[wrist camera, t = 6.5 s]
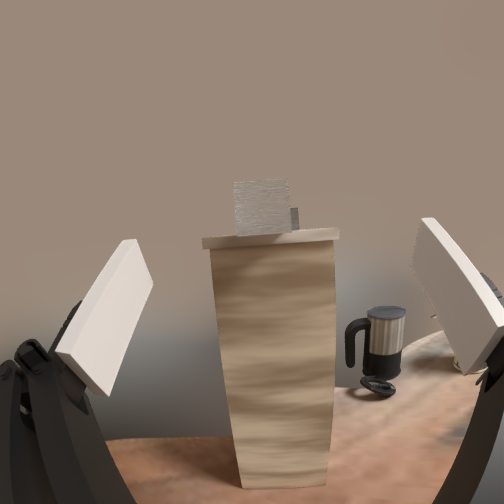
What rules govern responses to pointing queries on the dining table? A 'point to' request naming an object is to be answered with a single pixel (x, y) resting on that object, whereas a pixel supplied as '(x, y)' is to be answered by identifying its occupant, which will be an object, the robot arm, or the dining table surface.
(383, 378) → the milk frother
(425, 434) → the dining table surface
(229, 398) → the beige zigzag tall box
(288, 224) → the brushed metal bar
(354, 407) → the dining table surface
